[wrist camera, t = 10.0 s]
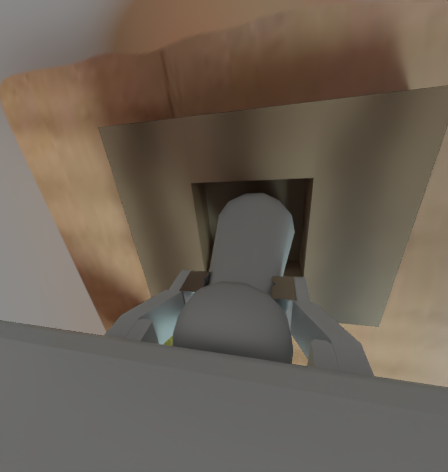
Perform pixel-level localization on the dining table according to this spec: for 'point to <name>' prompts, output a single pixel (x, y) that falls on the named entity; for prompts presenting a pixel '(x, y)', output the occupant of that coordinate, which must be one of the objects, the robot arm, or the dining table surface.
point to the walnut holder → (287, 188)
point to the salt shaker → (243, 285)
